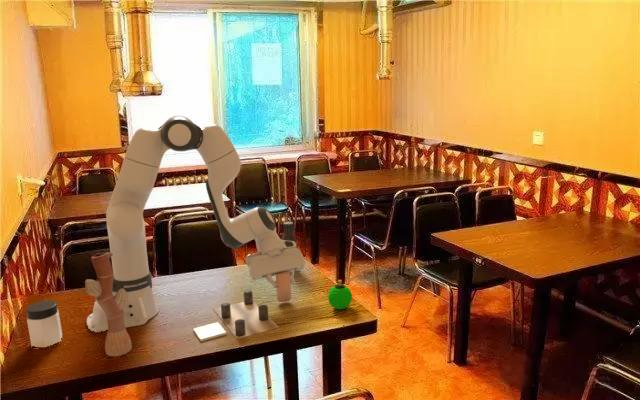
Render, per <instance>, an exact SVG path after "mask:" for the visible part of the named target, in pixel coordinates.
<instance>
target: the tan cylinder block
mask: <svg viewBox="0 0 640 400" xmlns="http://www.w3.org/2000/svg"><path fill="white" fill-rule="evenodd" d="M290 277H291V275H290V273H288V272H279V273H277V274H276V275H275V281H277V283H278V286H277V287H276V288H275V289H276V290H275V291H276V301H278V302H281V303H287V302H290V301H291V300H292V286H291V285H292V284H291V279H290Z"/></svg>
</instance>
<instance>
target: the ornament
mask: <svg viewBox="0 0 640 400" xmlns="http://www.w3.org/2000/svg"><path fill="white" fill-rule="evenodd" d="M342 282H343V281H342V279H338V280H337V284H336V285H334V286H332V287H331V288H330V289H329V291H328V295H327V299H328V303H329V304H330V305H331V306H332V307H333V308H334V309H336V310H343V309H346V308H347V307H348V306H350V305H351V303H352V300H353V293H352V291H351V289H350V288H349V287H347V286H346V285H345V284H343V283H342Z"/></svg>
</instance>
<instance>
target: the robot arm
mask: <svg viewBox="0 0 640 400" xmlns="http://www.w3.org/2000/svg"><path fill="white" fill-rule="evenodd" d="M169 150H172V151H175V152H186V151H187V152H188V151H193V150H196V151H197V152H198V153H199V155H200V156H201V158H202V160H203V162H204V164H205V166H206V168H207V173H208V177H207V179H206V180H205V188H206V192H207V196H208V198H209V202H210V204H211V205H210V206H211V208H212V211H213V215H214V216H215V217H214V218H215V220H216V223H217V226H218V229H219V233H220V238H221V240H222V242H223V244H224V245H225V246H226V247H228V248H232V249H238V248H240V247H242V246H244V245H245V244H246V243H247V244H248V243H249V242H251V241H252V240H254V241H255V245H256V246H255V247H256V249H257V251H258V252H255V253H250V254H248V255H247V256H246V257H245V264H246V266H248V272H249V276H250V278H251V280H253V281H257V280H261V279H266V281H267V282H269V284H271V286H272V288H273V289H276V287H277V286H278V283H277V281H276V280H274V278H272V277H276V274H277V273H279V272H288V273H290V279H291V285H292V284H295V282H296V280H295V278H294V277H295V272H298V271H301V270H303V269H304V268H305V266H306V260H305V258H304V256H303V254H302V252H301V250H300V249H299V248H298V247H297V248H295V247H296V243H295V242H294V241H286V240H282V238H280V236H279V235H278V233H277V227H276V221H275V219H274V217H273V214H272V213H271V211H270V210H269V209H267V208H265V207H262V206H256V207H253V208H252V209H249V210H247V211H246V212H244V213H242V214H241V213H240V214H239V215H237V216H236V217H232V218H231V217H230V216H229V214H228V213H229V212H228V211H227V207H226V205H225V201H224V198H223V194H224V192H225V190H226V188H227V187H228V186H229V185H230V184H231V183H232V182H233V181H234V180H235V178H236V177H237V176H238V175H239V173H240V170H241V168H242V165H241V164H242V163H241V162H242V161H241V159H240V156H239V154H238V152H237V149H236V148H235V146H234V144H233V142H232V141H231V139H230V138H229V136H228V135H227V133H226V132H225V130H224V129H223V128H222V127H221V126H220V125H219V124H216V123H208V124H205V125H203V126H198V125H197V124H196V123H194V122H193V121H192V120H191V119H189V118H188V117H186V116H184V115H183V116H182V115H175V116H172V117H169V118H168V119H167V120H166V121H165V122H164V123H163V124H161V126H160V127H158V128H153V127H139V128H138V129H137V130H136V131H135V132H134V134H133V136H132V137H131V139H130V142H129V144H128V147H127V149H126V151H125V155H124V158H123V161H122V164H121V167H120V171H119V174H118V178H117V180H116V183H115V186H114V189H113V191H112V194H111V197H110V200H109V202H108V206H107V209H106V212H105V213H106V214H105V217H106V219H105V220H106V228H107V237H108V242H109V252H111V253H112V254H113V255H112V256H111V257H110V258H111V266H112V269H113V273H114V278H113V289H112V294H113V296H115V295H116V293H117V292H118V291H119V290H120V289H124V290H125V291H126V293H127V295H128V303H127V305H126V307H125V308H124V309H123V312H124V324H125V328H131V327H136V326H142V325H145V324H146V323H147V322H148V321H149V320H151V319H152V318H154V317H155V316H156V315H157V314H159V307H158V306H157V303H156V300H155V298H154V297H155V296H154V293H153V289H152V288H153V280H152V274H151V272H150V269H149V259H148V253H147V251H148V249H147V239H146V238H147V237H146V236H147V235H146V225H145V219H144V210H145V208H146V205H147V202H148V200H149V198H150V196H151V193H152V192H153V190H154V186H155V183H156V180H157V177H158V173H159V170H160V167H161V164H162V160H163V158H164V156H165V153H166V152H167V151H169ZM86 326H88V327H87V328H88V330H89V329H90V330H89V331H91V332H93V331H94V332H93V333H101V331H102V332H107V331H106V330H108V322H107V316H106V314H105V312H104V311H103V309H102V308H101V307H100V305H99V304H98V302H97V300H96V299H95V301H94V304H93V310H92V313H90V314H89V315H88V316H87V318H86Z"/></svg>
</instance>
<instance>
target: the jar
mask: <svg viewBox="0 0 640 400" xmlns="http://www.w3.org/2000/svg"><path fill="white" fill-rule="evenodd" d="M26 317H27V319H26V323H27V328H28V334H29V339H30V345H31V347H32V346H35V347H47V346H50V345H53V344H55V343H57V342H60V341H61V342H62V340H61V338H62V339H63V330H62V324H61V319H60V311H59V308H58V305H57V302H56V301H55V300H42V301H37V302H34V303H31V304H30V305H28V306H27V307H26Z"/></svg>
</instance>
